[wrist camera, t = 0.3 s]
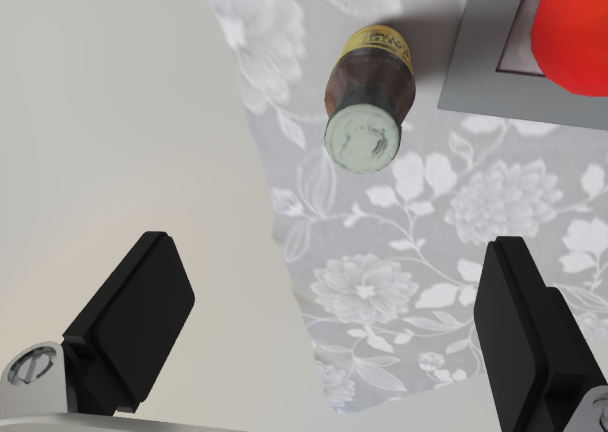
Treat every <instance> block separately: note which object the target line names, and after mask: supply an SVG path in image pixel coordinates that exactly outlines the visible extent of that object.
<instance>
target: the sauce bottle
mask: <svg viewBox="0 0 608 432" xmlns="http://www.w3.org/2000/svg"><path fill="white" fill-rule="evenodd" d="M415 94H416V87H415V78H414V74H413V66H412V62H411V57H410V52H409V48H408V45H407V43H406V41H405V40H404V38H403V37H402V36H401V35H400V33H399V32H397V31H396V30H394V29H393V28H391V27H388V26H385V25H371V26H367V27H364V28H362V29H360V30H359V31H357V32H356V33H355V34H354V35H352V36H351V37H350V39H349V40H348V41H347V43H346V44H345V46H344V48H343V50H342V52H341V54H340V56H339V58H338V60H337V62H336V64H335V66H334V68H333V70H332V72H331V75H330V79H329V81H328V83H327V87H326V92H325V100H324V102H325V106H326V110H327V114H328V116H329V120H328V123H327V127H326V132H325V138H324V139H325V145H326V149H327V152H328V154H329V156H330V157H331V159H332V160H333V161H334V162H335V163H336V164H338V165H339V166H340V167H341V168H342V169H344V170H346V171H349V172H352V173H362V174H364V173H372V172H375V171H378V170H380V169H382V168H384V167H385V166H387V165H388V164H389V163H390V162H391V161H392V160H393V159H394V157H395V156H396V154H397V152H398V149H399V147H400V141H401V133H402V127H401V124H402V122H403V120H404V119H405V117H406V115H407V113H408V112H409V110H410V108H411V107H412V105H413V102H414V99H415Z"/></svg>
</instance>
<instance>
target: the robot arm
mask: <svg viewBox="0 0 608 432" xmlns="http://www.w3.org/2000/svg"><path fill="white" fill-rule="evenodd" d="M194 302H195V296H194V292H193V290H192V287H191V285H190V282H189V280H188V277H187V275H186V272H185V269H184V267H183V264H182V262H181V259H180V256H179V254H178V251H177V249H176V246H175V243H174V241H173V239H172V237H170V236H168V235H167V233H166V232H158V231H155V232H154V231H147V232H145V233H144V234H143V235H142V236H141V237H140V239H139V240H138V241H137V242H136V244H135V245H134V246H133V248H132V249H131V250H130V251H129V252H128V254H127V255H126V256H125V257H124V259H123V260H122V261H121V262H120V264H119V265H118V266H117V267H116V269H115V270H114V271H113V272H112V273H111V275H110V276H109V277H108V279H107V280H106V281H105V282H104V284H103V285H102V286H101V287H100V288H99V290H98V291H97V292H96V294H95V295H94V296H93V297H92V298H91V300H90V301H89V302H88V304H87V305H86V306H85V307H84V309H83V310H82V311H81V312H80V313H79V315H78V316H77V317H76V318H75V320H74V321H73V322H72V323H71V325H70V326H69V327H68V328H67V330H66V331H65V332H64V334H63V335H62V336H63V337H64V339H65V340H64V341H63V342H62V343H61V345H60V344H58V343H57V342H52V341H49V342H41V343H38V344H36V345H33V346H31V347H29V348H27V349H25V350H24V351H22V352H21V353H20V354H18V355H17V356H16V357H14V358H13V359H12V360H11V362H10V363H9V364H8V365H7V366H6V368H5V369H4V371H3V373H2V376H1V379H0V432H246V431H237V430H229V429H220V428H211V427H203V426H194V425H186V424H176V423H168V422H159V421H149V420H141V419H132V418H122V417H112V416H113V414H114V413H115V411H116V410H117V411H118V412H126V413H135V412H136V410H137V408H138V406H139V404H140V402H144V401H145V400H146V398H147V397H148V395H149V393H150V391H151V389H152V387H153V385H154V383H155V381H156V379H157V377H158V375H159V373H160V371H161V369H162V367H163V365H164V363H165V361H166V359H167V357H168V355H169V353H170V351H171V349H172V347H173V345H174V343H175V341H176V339H177V337H178V335H179V334H180V331H181V329H182V327H183V326H184V323H185V322H186V319H187V318H188V316H189V314H190V312H191V310H192V308H193V305H194ZM474 321H475V325H476V329H477V333H478V337H479V341H480V345H481V350H482V354H483V358H484V362H485V366H486V370H487V374H488V378H489V381H490V386H491V390H492V394H493V398H494V402H495V406H496V410H497V414H498V418H499V422H500V426H501V430H502V432H608V383H607V381H606V379H605V378H604V376H603V374H602V372H601V370H600V368H599V366H598V364H597V362H596V360H595V358H594V356H593V354H592V352H591V350H590V348H589V346H588V344H587V342H586V340H585V338H584V336H583V334H582V332H581V330H580V329H579V327H578V325H577V323H576V321H575V319H574V317H573V315H572V313H571V311H570V309H569V307H568V305H567V303H566V301H565V299H564V297H563V295H562V294H561V292H560V291H559V290H558V289H557V288H556V287H546V286H545V283H544V281H543V279H542V277H541V275H540V273H539V271H538V269H537V267H536V265H535V262H534V260H533V258H532V256H531V254H530V252H529V250H528V248H527V246H526V244H525V242H524V240H523V238H522V237H520V236H498V237H497V238H496V240H495V241H490V242H489V243H488V246H487V250H486V255H485V260H484V264H483V269H482V273H481V278H480V283H479V287H478V292H477V297H476V301H475V306H474Z"/></svg>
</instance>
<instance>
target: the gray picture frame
mask: <svg viewBox="0 0 608 432" xmlns="http://www.w3.org/2000/svg"><path fill="white" fill-rule="evenodd" d="M520 1H521V0H468V1H467V5H466V8H465V12H464V15H463V19H462V22H461V26H460V29H459V32H458V36H457V39H456V43H455V46H454V50H453V53H452V57H451V60H450V64H449V67H448V71H447V74H446V78H445V81H444V85H443V88H442V92H441V95H440V99H439V102H438V106H437V108H438V109H441V110H449V111H457V112H465V113H473V114H481V115H489V116H497V117H505V118H512V119H520V120H528V121H536V122H544V123H552V124H560V125H568V126H576V127H584V128H592V129H600V130H608V97H588V96H582V95H576V94H572V93H570V92H569V91H567V90H565V89H564V88H562V87H561V86H559V85H557V84H556V83H554V82H552V81H551V80H549V79H548V78H546V76H539V75H530V74H521V73H513V72H504V71H496V68H497V65H498V62H499V59H500V57H501V54H502V51H503V48H504V46H505V43H506V40H507V37H508V34H509V32H510V29H511V26H512V23H513V20H514V18H515V15H516V12H517V9H518V6H519V4H520Z"/></svg>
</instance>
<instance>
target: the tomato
mask: <svg viewBox="0 0 608 432" xmlns="http://www.w3.org/2000/svg"><path fill="white" fill-rule="evenodd" d="M531 50H532V53H533V55H534V57H535V59H536V61H537V63H538V65H539V68H540V69H541V71H542V72H543V73H544V75H545V76H546V78H548V79H549V80H551V81H552V82H554V83H556V84H557V85H559V86H561V87H562V88H564V89H565V90H567V91H569V92H570V93H572V94H576V95H582V96H588V97H608V0H540V3H539V6H538V10H537V13H536V16H535V19H534V23H533V26H532V29H531Z"/></svg>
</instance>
